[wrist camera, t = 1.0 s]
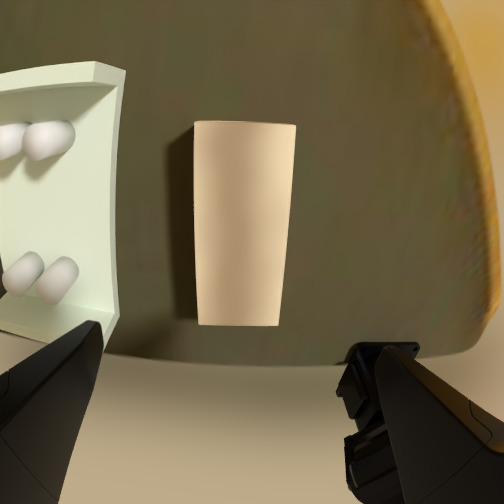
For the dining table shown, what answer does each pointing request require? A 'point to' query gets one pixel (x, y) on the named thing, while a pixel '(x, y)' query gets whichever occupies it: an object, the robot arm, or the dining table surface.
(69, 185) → the pale green pegged panel
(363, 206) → the dining table surface
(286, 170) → the beige tapered block
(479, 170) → the dining table surface
